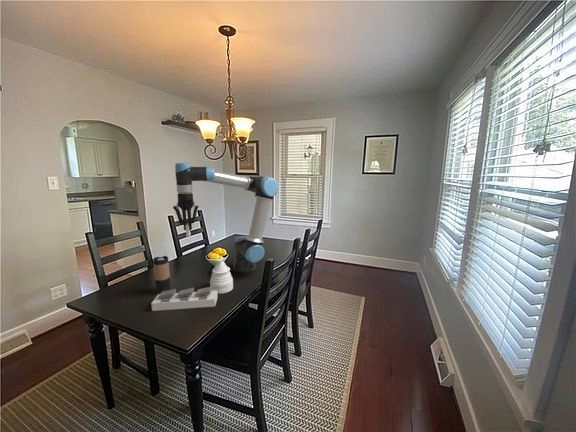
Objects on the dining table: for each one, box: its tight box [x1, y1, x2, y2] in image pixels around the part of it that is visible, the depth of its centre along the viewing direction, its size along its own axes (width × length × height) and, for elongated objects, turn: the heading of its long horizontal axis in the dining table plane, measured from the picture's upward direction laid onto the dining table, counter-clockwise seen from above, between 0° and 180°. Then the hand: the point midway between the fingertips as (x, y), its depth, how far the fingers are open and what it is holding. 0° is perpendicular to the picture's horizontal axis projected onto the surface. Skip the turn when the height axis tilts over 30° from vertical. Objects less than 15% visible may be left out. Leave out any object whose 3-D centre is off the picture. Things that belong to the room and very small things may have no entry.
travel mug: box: [152, 255, 172, 295], centre depth 139 cm, size 8×8×20 cm
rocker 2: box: [196, 286, 212, 297], centre depth 129 cm, size 7×5×2 cm
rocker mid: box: [177, 287, 195, 298], centre depth 128 cm, size 7×5×2 cm
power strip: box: [150, 291, 219, 312], centre depth 128 cm, size 30×9×4 cm, turn 98°
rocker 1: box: [158, 288, 177, 299], centre depth 127 cm, size 7×5×2 cm
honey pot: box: [209, 259, 234, 295], centre depth 143 cm, size 13×13×18 cm
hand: (188, 235), depth 135 cm, fingers closed
